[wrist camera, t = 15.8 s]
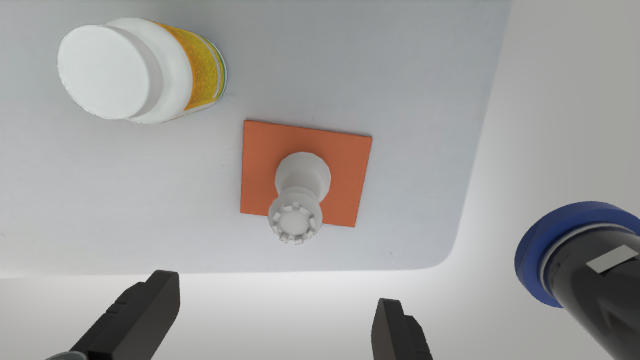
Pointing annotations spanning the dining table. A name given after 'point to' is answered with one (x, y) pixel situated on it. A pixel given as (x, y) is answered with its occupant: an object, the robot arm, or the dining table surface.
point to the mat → (333, 147)
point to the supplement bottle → (140, 70)
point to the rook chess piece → (299, 196)
